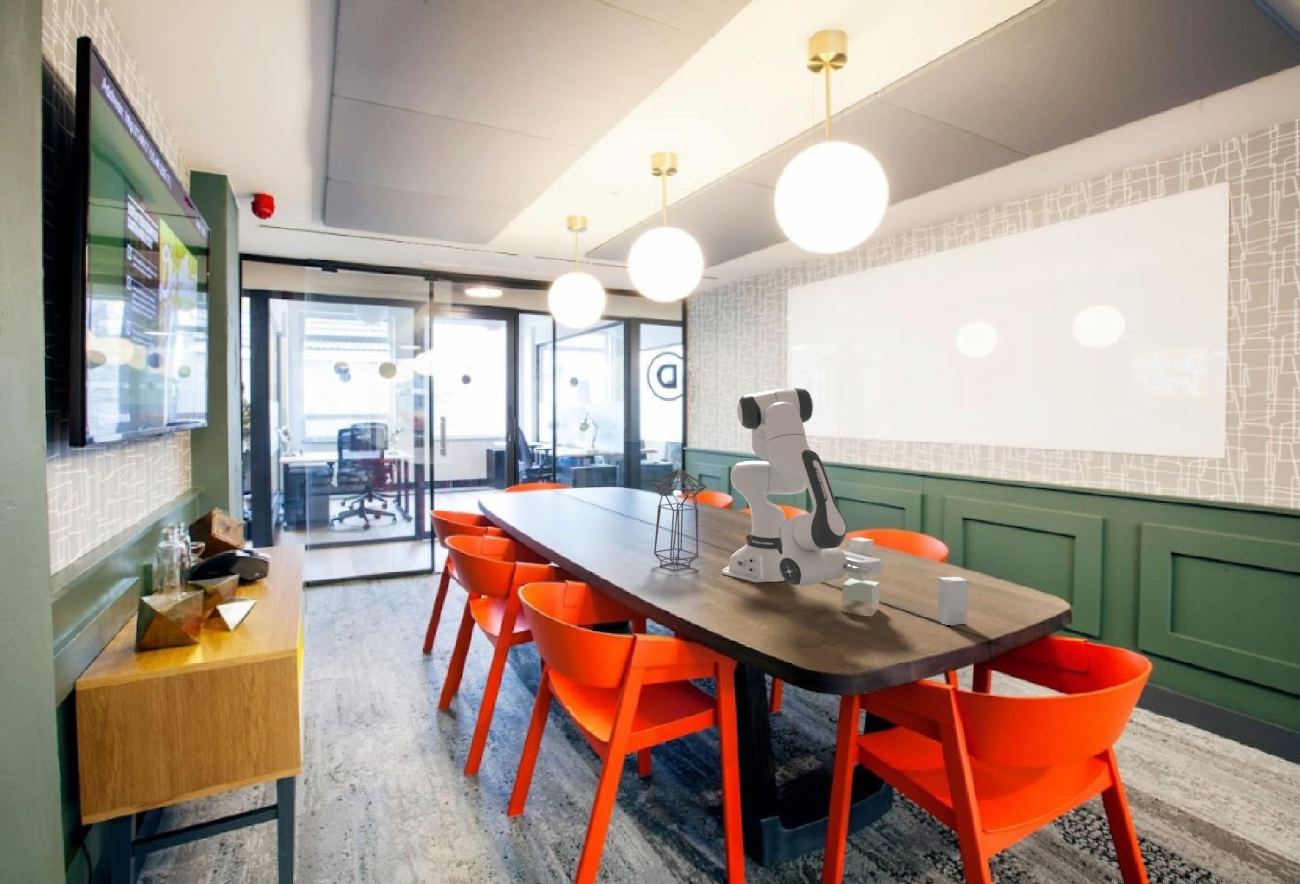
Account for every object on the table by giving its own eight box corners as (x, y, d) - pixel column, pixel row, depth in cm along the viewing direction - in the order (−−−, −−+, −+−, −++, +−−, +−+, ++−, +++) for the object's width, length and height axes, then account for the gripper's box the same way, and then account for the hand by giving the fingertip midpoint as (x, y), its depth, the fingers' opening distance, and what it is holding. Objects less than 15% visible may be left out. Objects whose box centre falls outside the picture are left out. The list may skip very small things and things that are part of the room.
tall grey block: (862, 581, 172) (863, 541, 172) (848, 577, 176) (849, 538, 175) (872, 578, 175) (873, 539, 174) (858, 575, 178) (859, 537, 178)
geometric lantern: (676, 559, 233) (680, 466, 231) (706, 569, 221) (710, 471, 219) (644, 565, 223) (647, 468, 221) (673, 576, 211) (677, 473, 209)
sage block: (842, 598, 175) (842, 584, 174) (850, 591, 181) (850, 578, 181) (871, 603, 170) (872, 588, 170) (878, 596, 177) (879, 582, 177)
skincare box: (957, 620, 168) (959, 575, 168) (967, 626, 164) (969, 580, 163) (935, 620, 168) (937, 576, 167) (945, 626, 163) (946, 580, 162)
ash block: (841, 612, 175) (841, 598, 175) (850, 605, 181) (850, 591, 181) (870, 618, 170) (870, 603, 170) (878, 610, 177) (879, 596, 176)
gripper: (863, 559, 159) (896, 552, 167) (801, 544, 176) (834, 539, 184) (862, 583, 159) (895, 576, 167) (801, 566, 176) (833, 560, 184)
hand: (863, 556), depth 175 cm, fingers closed on tall grey block, 4 cm apart
